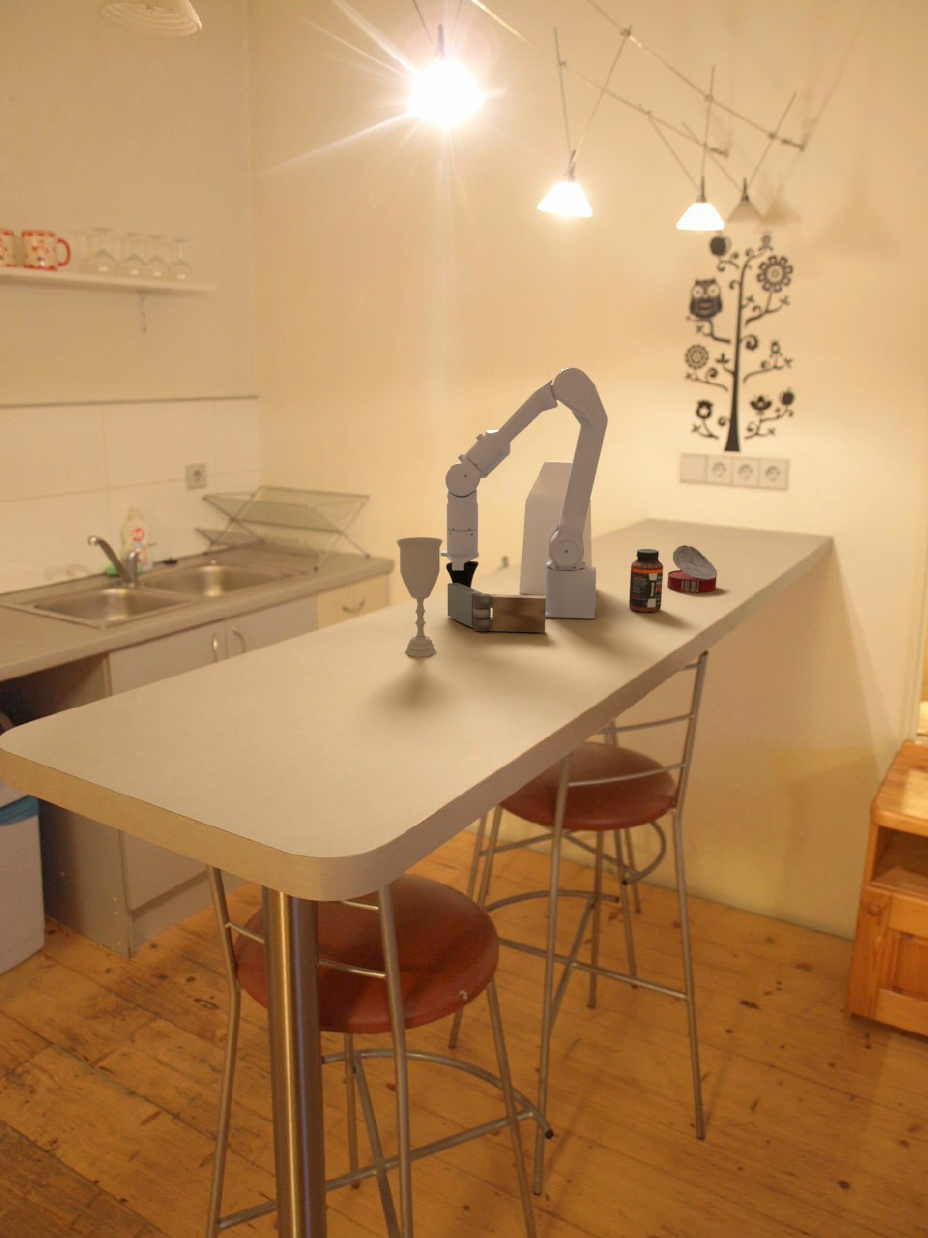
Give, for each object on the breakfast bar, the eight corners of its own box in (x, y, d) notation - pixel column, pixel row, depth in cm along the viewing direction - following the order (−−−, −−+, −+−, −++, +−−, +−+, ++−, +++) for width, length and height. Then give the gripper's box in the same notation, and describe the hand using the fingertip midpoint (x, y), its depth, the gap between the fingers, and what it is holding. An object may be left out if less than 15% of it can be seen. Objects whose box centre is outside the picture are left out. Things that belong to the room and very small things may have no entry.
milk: (519, 593, 201) (521, 463, 195) (537, 581, 211) (539, 458, 205) (576, 598, 197) (581, 465, 190) (592, 586, 207) (596, 460, 200)
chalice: (408, 660, 155) (407, 546, 151) (391, 649, 161) (389, 539, 157) (450, 654, 159) (450, 542, 154) (432, 643, 164) (431, 535, 160)
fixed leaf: (545, 628, 173) (546, 595, 171) (544, 633, 170) (545, 598, 168) (474, 626, 174) (474, 592, 173) (472, 630, 171) (472, 596, 170)
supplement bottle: (660, 614, 184) (664, 553, 181) (628, 612, 185) (630, 552, 183) (661, 606, 190) (664, 548, 187) (629, 605, 191) (632, 546, 188)
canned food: (700, 605, 211) (725, 564, 209) (707, 612, 201) (733, 568, 200) (653, 579, 211) (677, 538, 210) (658, 584, 201) (683, 541, 200)
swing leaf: (493, 629, 172) (494, 596, 170) (478, 632, 171) (478, 597, 169) (459, 614, 182) (459, 582, 181) (445, 616, 181) (445, 583, 180)
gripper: (446, 522, 190) (446, 591, 193) (435, 534, 176) (435, 609, 179) (482, 522, 189) (482, 592, 192) (474, 535, 175) (474, 610, 178)
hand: (462, 601), depth 186 cm, fingers closed
